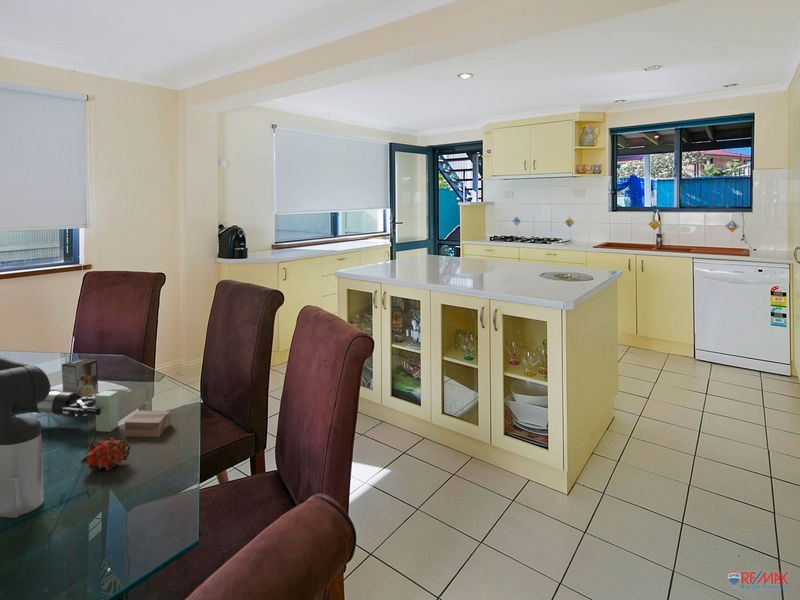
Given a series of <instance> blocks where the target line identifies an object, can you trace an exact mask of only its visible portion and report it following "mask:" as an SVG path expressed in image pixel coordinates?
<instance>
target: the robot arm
mask: <svg viewBox="0 0 800 600" xmlns="http://www.w3.org/2000/svg"><path fill="white" fill-rule="evenodd" d="M50 382H51V381H50V379H49V377H48V375H47V374H46V372H45V371H44V370H42V369H41V368H40V367H38V366H37V365H34V364H30V363H29V364H28V363H22V362H17V361H15V360H12V359H9V358H6V357H5V356H1V355H0V518H10V519H11V518H13V519H15V518H16V519H17V518H18V517H20V516H22V515H25V514H28V513H31V512H32V511H35V510H37V509H38V508H39V507H41V506H42V505H43V503H44V502H45V501H44V500H45V497H44V472H43V445H42V443H43V442H42V441H43V440H42V439H43V438H42V424H41V421H39V420H38V419H37V418H33V417H23V416H18V415H24V414H25V415H26V414H31V413H32V414H33V413H34V414H45V415H48V416H49V415H50V416H51V415H52V416H63V417H69V418H78V419H79V418H82V417H83V416H84V417H85V416H88V415H90V416H96V415H100V414H101V409H100V408H96V405H95V403H94V402H95V395H96V394H90V395H89V397H82V398H81V397H80V396H79V394H77V393H75V392H63V391H59V390H55V391H54V390H52V391H51V383H50ZM12 415H13V416H12Z"/></svg>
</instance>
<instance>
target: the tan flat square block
mask: <svg viewBox="0 0 800 600" xmlns="http://www.w3.org/2000/svg"><path fill="white" fill-rule="evenodd" d="M170 425H171V410H144V409H143V410H138V411H137V412H135V413H134V414H133V415H132V416H131V417H129V418H128V419H127V420H126V421H125V422H124V428H125V429H124V433H125V437H135V438H136V437H139V438H142V437H143V438H159V437H160V436H161V435H162V434H163V433H164V431H166V430H167V428H169V426H170Z"/></svg>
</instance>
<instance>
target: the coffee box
mask: <svg viewBox="0 0 800 600" xmlns="http://www.w3.org/2000/svg"><path fill="white" fill-rule="evenodd" d="M61 373H62V376H61V379H62V392H75V393H77V394H79V396H80V397H81V398H82V397H89V395H90V394H98V393H99V383H98V382H99V381H98V360H97V359H91V358H84V357H82V358H80V359H75V360H71V361H68V362H66V363H62V364H61Z"/></svg>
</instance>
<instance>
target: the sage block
mask: <svg viewBox="0 0 800 600" xmlns="http://www.w3.org/2000/svg"><path fill="white" fill-rule="evenodd" d="M94 405H96V408H100V409H101V414H100V415H95V431H96V432H108V433H111V432H112V431H113V430H115V429H117V428H118V427H119V391H117V390H103V391H101V392H98V394H96V395H95V403H94Z"/></svg>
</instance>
